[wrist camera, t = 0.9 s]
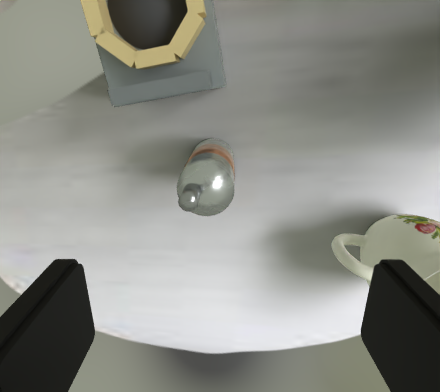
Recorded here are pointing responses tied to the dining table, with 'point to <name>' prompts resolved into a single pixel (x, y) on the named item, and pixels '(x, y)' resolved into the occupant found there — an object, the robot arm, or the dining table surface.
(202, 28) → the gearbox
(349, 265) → the pitcher
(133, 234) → the dining table surface
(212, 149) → the cocktail shaker
